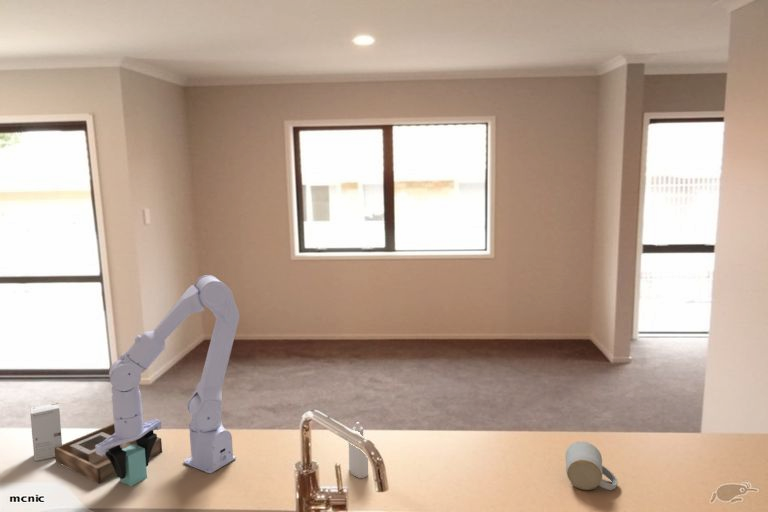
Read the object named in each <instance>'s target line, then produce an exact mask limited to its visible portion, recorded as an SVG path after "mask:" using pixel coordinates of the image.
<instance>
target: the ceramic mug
mask: <svg viewBox="0 0 768 512" xmlns="http://www.w3.org/2000/svg"><path fill="white" fill-rule="evenodd" d="M565 470H566V475H567V478H568V481H569V482H570V483H571V484H572V485H573V487H575V488H578V489H580V490H584V491H589V490H590V491H591V490H593V489H597V487H601V488H603V489H605V490H608V491H614V490H615V489H616V487H617V486H618V482H619V481H618V478H617V477H616V476H615V475H614V473H613V472H611V470H609V469H608V468H607V467H605V466H604V465H603V458H602V453H601V452H600V450H599V449H598V448H597V447H596V446H595V445H594V444H593V443H590V442H587V441H583V440H582V441H575V442H573V443H571V444H570V445H569V446H568V447H567V449H566V451H565ZM603 476H605V478H607V479H610V480H611V481H612V482H611V481H610V480H609V481H610V482H611V483H609V482H607V481H605V480H603ZM613 489H614V490H613Z"/></svg>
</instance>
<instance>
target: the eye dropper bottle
mask: <svg viewBox="0 0 768 512" xmlns="http://www.w3.org/2000/svg"><path fill="white" fill-rule="evenodd" d="M352 430H355V431H358V432H360V434H361V435H362V436H363V437H364V428H363V426H361V424H360V422H359V421H356V423H355V425H354V426H353V427H352ZM352 430H351V431H352ZM348 469H349V472H350V474H352V476H354V477H355V476H356V477H355V478H357V477H358V479H363V478H367V477H368V476H369V457H368V458H367V457H366V455H365V454H364V453H363V452H362V451H361V450H360V449H358V448H356V447H355V446H353V445H351V444H350V443H349V442H348Z"/></svg>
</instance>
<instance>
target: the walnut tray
mask: <svg viewBox="0 0 768 512" xmlns="http://www.w3.org/2000/svg"><path fill="white" fill-rule="evenodd" d="M101 432H103V433H106V434H108V435H113V434H114V433H115V427H114V423H112V424H109V425H106V426H105V427H102V428H99V429H98V430H95V431H92V432H89V433H86V434H85V435H82V436H80V437H78V438H75V439H73V440H70V441H68V442H66V443H64V444H63V443H62V445H60V446H58V447H56V448H54V449H55V463H57V462H58V464H59V463H60V465H61V464H63V465H64V466H63V465H62V466H63V467H65V466H66V468H67V467H68V468H67V469H69V468H70V470H71V469H72V472H73V471H74V472H76V473H78V474H80V475H81V476H83V477H86V478H87V479H90V480H91V481H94V482H95V483H97V484H101V483H103V482H104V481H105V482H106V481H107V480H109V479H110V478H113V477H114V476H117V475H116V472H115V470H114V467H113V465H112V463H111V462H110V460H109V459H108V458H107V459H105V460H103V461H100V462H98V463H96V464H92V463H90V462H88V461H86V460H84V459H81V458H79V457H77V456H75V455H73V454H71V453H70V445H72V444H75V443H77V442H79V441H82V440H84V439H87V438H89V437H91V436H94V435H96V434H99V433H101ZM162 442H163V441H162V438H160V437H159V436H157V440H156V441H155V443H154V445H153V448H152V451H151V454H150V458H149V459H151V458H153V457H155V456H156V455H160V454H161V453H163V446H162V445H163V443H162ZM133 444H135V445H137V442H136V440H134V441H131V442H127V443H125V444H123V445H122V449H124V448H126V447H128V446H130V445H133Z"/></svg>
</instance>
